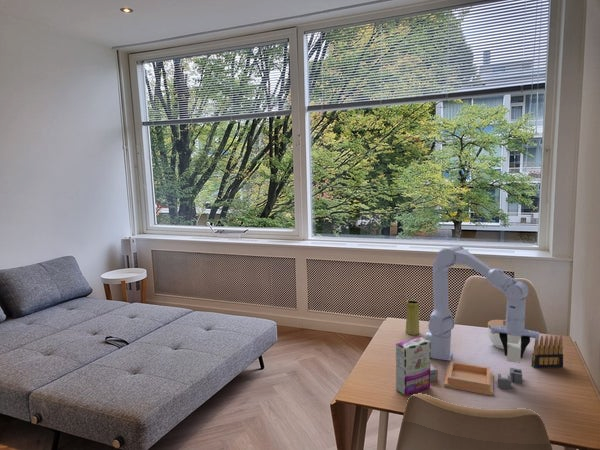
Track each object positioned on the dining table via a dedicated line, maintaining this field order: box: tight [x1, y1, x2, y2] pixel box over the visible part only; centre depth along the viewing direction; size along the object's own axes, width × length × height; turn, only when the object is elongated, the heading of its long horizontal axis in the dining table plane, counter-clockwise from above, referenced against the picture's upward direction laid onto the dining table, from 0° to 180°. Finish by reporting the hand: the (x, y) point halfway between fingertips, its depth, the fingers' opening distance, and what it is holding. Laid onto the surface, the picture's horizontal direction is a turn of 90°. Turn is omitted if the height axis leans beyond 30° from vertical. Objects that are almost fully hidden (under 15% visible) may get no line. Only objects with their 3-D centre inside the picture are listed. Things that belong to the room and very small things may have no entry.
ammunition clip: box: [531, 335, 564, 369], centre depth 153 cm, size 11×2×12 cm, turn 91°
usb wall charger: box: [430, 364, 439, 382], centre depth 148 cm, size 4×7×4 cm, turn 15°
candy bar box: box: [395, 336, 431, 397], centre depth 138 cm, size 11×5×16 cm, turn 117°
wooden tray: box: [443, 360, 494, 396], centre depth 144 cm, size 15×15×3 cm
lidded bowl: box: [487, 319, 521, 350], centre depth 172 cm, size 13×13×11 cm
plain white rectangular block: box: [505, 343, 521, 364], centre depth 143 cm, size 4×4×5 cm
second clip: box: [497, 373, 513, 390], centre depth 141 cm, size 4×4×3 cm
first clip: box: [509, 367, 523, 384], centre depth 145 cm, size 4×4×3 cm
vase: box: [404, 299, 420, 336], centre depth 187 cm, size 6×6×14 cm
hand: (513, 355), depth 143 cm, fingers closed on plain white rectangular block, 4 cm apart
